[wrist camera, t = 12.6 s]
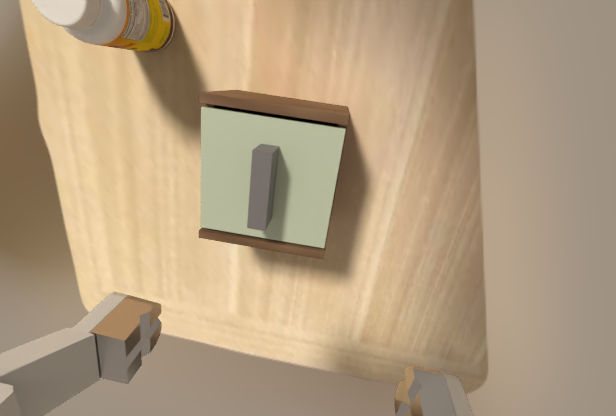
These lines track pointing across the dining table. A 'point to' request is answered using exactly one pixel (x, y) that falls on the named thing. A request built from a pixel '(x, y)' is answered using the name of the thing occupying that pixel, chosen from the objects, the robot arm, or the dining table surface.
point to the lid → (268, 175)
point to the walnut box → (279, 109)
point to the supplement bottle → (113, 21)
